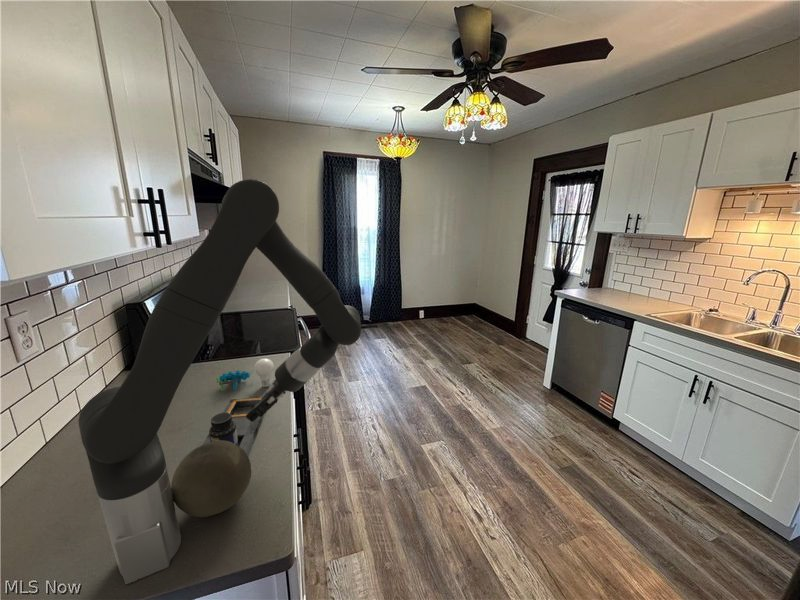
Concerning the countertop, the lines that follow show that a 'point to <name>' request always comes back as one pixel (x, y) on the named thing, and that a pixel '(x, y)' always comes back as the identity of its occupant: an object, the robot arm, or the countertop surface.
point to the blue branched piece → (232, 378)
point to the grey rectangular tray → (243, 422)
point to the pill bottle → (223, 428)
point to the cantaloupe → (211, 478)
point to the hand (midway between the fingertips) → (257, 408)
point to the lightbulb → (264, 370)
